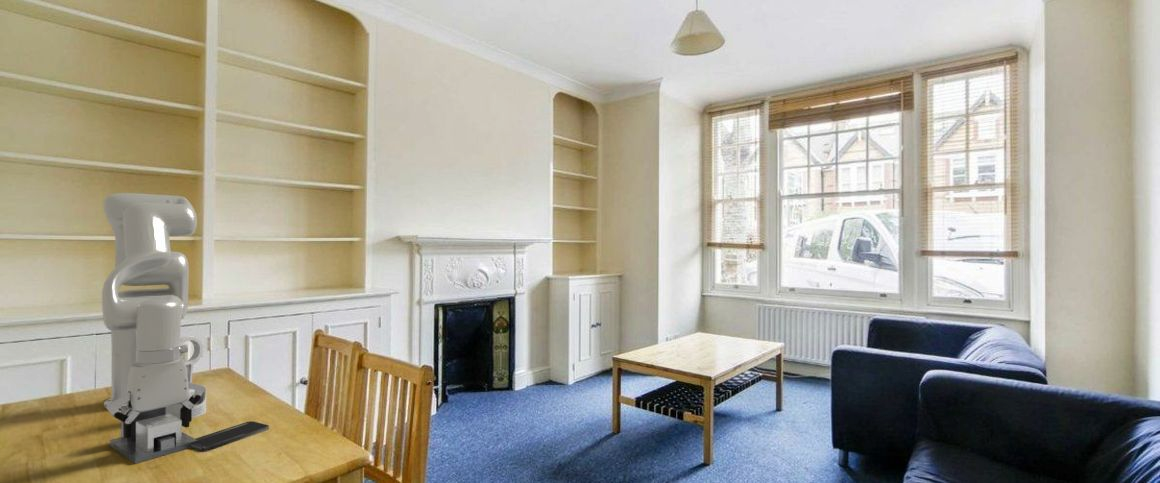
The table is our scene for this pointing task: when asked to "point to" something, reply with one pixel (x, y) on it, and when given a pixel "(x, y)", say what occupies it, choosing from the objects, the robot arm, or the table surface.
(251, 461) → the table surface
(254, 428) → the phone
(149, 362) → the robot arm
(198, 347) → the engine component
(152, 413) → the coupler
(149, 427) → the block
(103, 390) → the table surface
